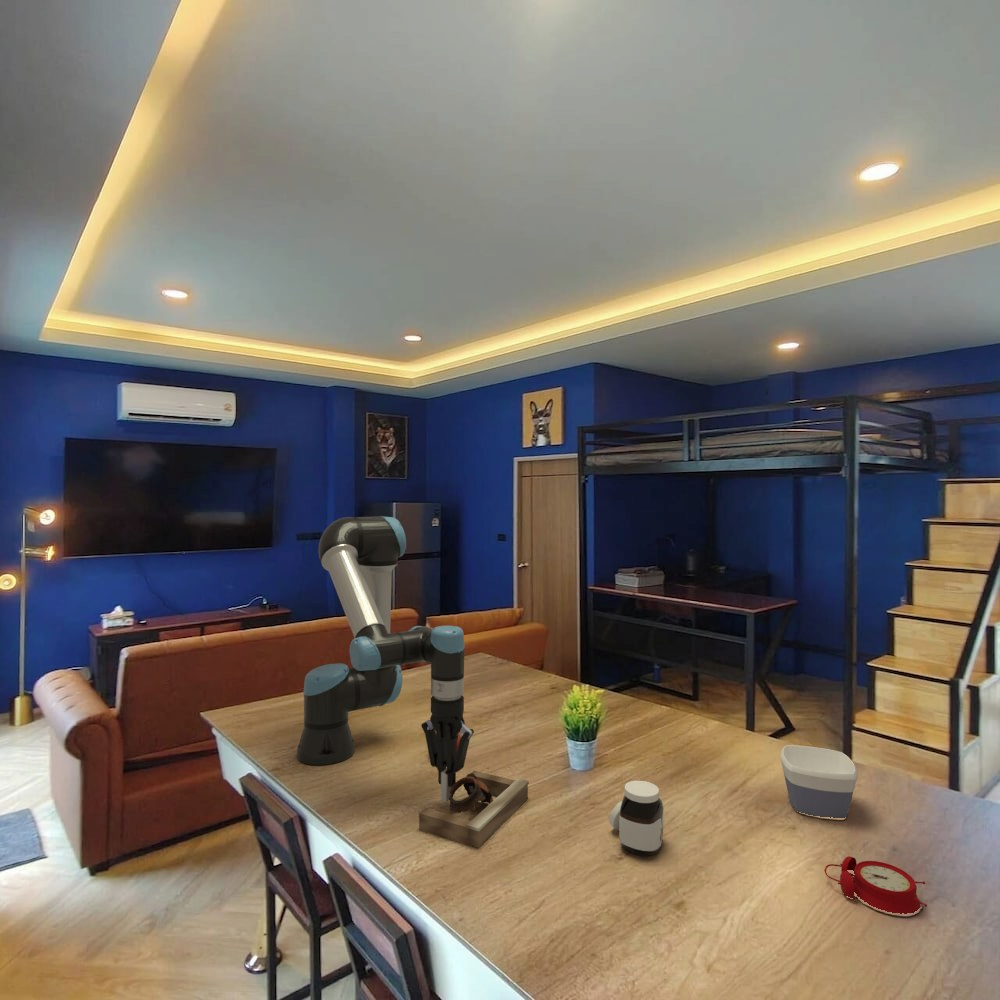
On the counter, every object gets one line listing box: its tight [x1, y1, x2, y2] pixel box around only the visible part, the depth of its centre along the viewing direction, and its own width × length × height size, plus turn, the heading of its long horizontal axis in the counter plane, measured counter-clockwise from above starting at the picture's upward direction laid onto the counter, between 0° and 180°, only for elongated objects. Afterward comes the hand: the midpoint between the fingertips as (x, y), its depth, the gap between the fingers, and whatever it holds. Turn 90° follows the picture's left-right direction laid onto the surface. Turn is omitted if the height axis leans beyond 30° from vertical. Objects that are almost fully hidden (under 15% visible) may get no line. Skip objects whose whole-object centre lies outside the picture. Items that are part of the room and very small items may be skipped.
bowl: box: [780, 744, 859, 818], centre depth 139 cm, size 15×15×11 cm
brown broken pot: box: [449, 772, 494, 814], centre depth 138 cm, size 12×10×8 cm
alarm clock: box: [824, 855, 928, 914], centre depth 108 cm, size 10×6×15 cm
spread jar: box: [608, 780, 664, 856], centre depth 125 cm, size 12×11×12 cm
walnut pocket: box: [418, 770, 530, 849], centre depth 136 cm, size 15×23×4 cm, turn 152°
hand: (446, 799), depth 139 cm, fingers closed
